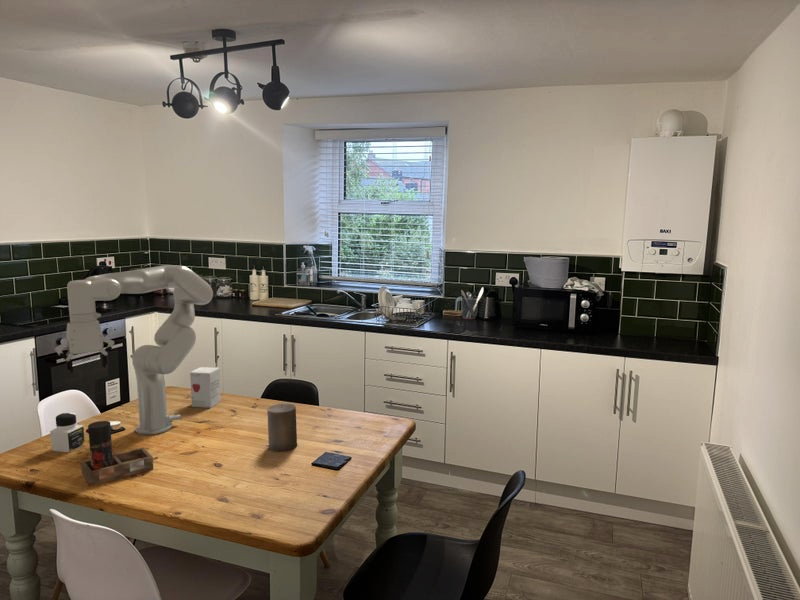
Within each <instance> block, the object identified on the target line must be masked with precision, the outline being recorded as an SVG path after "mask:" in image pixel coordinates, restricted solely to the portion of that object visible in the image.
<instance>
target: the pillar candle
mask: <svg viewBox="0 0 800 600" xmlns="http://www.w3.org/2000/svg"><path fill="white" fill-rule="evenodd" d="M266 411H267V436H268V449H269V450H271V451H275V452H283V451H285V452H286V451H291V450H294V449H296V448H297V447H298V436H297V435H298V434H297V433H298V432H297V408H296V405H294V404H292V403H277V404H272V405H270V406H268V407H267V410H266Z"/></svg>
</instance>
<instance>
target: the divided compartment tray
mask: <svg viewBox="0 0 800 600" xmlns="http://www.w3.org/2000/svg"><path fill="white" fill-rule="evenodd" d="M112 454H113V466H110V467H106V468H102V469H98V470H94V471H92V469H91V459H88V460H85V461H84V460H83V461H80V467H81V468H80V469H81V476H82V475H83V476H82V477H83V479H84V480H85V482H86V483H87V485H88V486H89V487H92V486H96V485H99V484H102V482H103V483H107V482H111V481H114V479H115V480H118V479H122V478H126V477H129V476H133V475H136V474H137V475H138V474H141V473H145V472H148V471H152V470H154V459H153V456H152V455H151V453H150V452H148V451H147V449H145V447H143V446H142V447H138V448H135V449H134V448H133V449H131V450H126V451H122V452H118V453H112ZM110 480H111V481H110ZM106 481H107V482H106ZM95 484H96V485H95ZM91 485H92V486H91Z"/></svg>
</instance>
